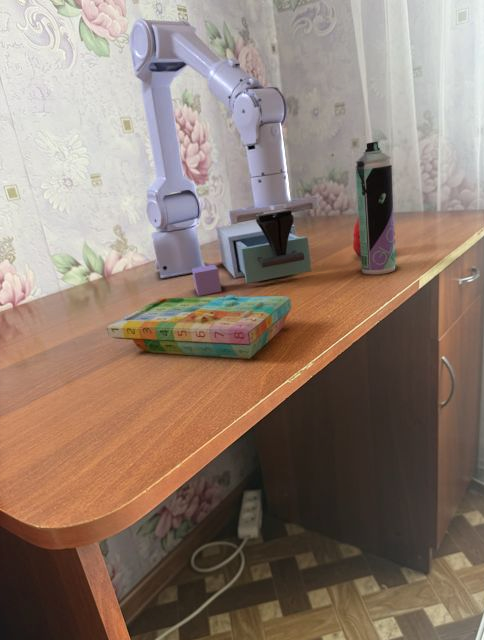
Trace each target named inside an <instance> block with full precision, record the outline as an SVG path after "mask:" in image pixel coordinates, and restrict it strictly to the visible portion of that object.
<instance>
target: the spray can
mask: <svg viewBox="0 0 484 640" xmlns="http://www.w3.org/2000/svg"><path fill="white" fill-rule="evenodd" d="M391 159H392V157H391V156H389V155H387V154H386V153H384V152H383V149H381V147H379V141H372V142H367V143H366V149H364V151H363V155H362V156H360V157H359V159H358V160H356V161H355V164H356V165H355V181H356V196H357V211H358V213H357V214H358V217H359V231H360V247H361V257H360V261H361V273H362V274H365V275H384V274H389V273H391V272H394V271H395V270H396V247H395V245H396V242H395V243H394V239H395V236H394V231H395V220H394V219H395V217H394V190H393V162H392V161H391Z"/></svg>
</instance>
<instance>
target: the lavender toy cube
mask: <svg viewBox="0 0 484 640" xmlns="http://www.w3.org/2000/svg"><path fill="white" fill-rule="evenodd" d="M191 274H192V277H193V282H194V287H195V291H196V294H197V297H202V296H205V295H210V294H216V293H222V285H221V280H220V274H219V269H218V267H217V266H216V265H215V263H214V264H209V265H205V266H203V267H197V268H192V273H191Z"/></svg>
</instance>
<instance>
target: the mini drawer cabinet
mask: <svg viewBox="0 0 484 640" xmlns="http://www.w3.org/2000/svg"><path fill="white" fill-rule="evenodd" d="M215 229H216V230H215V231H216V235H217V240H218V241H217V242H218V246H219V252H220V258H221V264H222V265H223V267H225V269H226V270H227V271H228V272H229V273H230V274H231V275H232V276H233V278H234V279H237V278H243V277H245V274H244V273H243V272H242V271H241V270H240V269H239V268H238V267H237V263H236V257H235V250H234V244H233V241H234V240H239V239H245V238H250V237H256V236H262V235H264V233H263V232H262V230H261V228H260V227H259V226H258V224H257V222H256V220H251V221H245V222H239V223H237V224H232V225H231V224H229V225H224V226H218V227H216V228H215ZM290 233H291V234H293V235H295V236H297V234H296V233H297V232H296V225H295V224H293V225H292V227H291V230H290Z"/></svg>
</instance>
